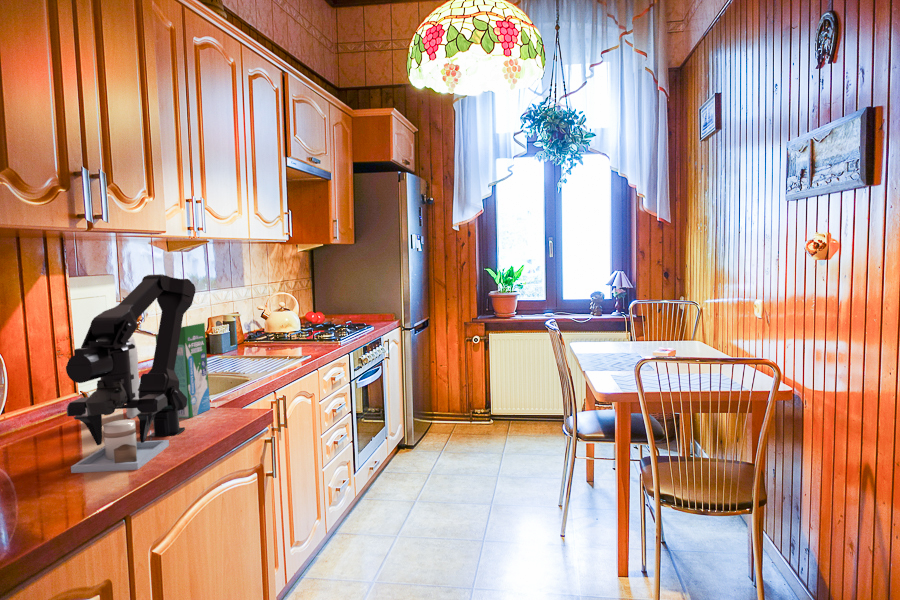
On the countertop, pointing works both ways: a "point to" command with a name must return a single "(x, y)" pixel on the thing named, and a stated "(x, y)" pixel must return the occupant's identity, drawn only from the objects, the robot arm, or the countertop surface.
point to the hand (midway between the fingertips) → (121, 443)
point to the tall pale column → (135, 382)
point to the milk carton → (193, 370)
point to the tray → (100, 463)
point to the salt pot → (125, 454)
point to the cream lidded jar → (119, 435)
